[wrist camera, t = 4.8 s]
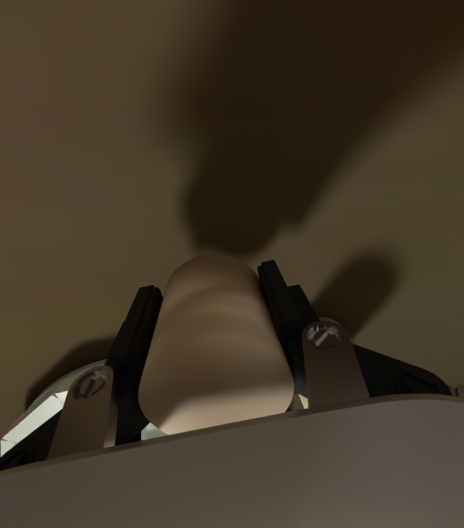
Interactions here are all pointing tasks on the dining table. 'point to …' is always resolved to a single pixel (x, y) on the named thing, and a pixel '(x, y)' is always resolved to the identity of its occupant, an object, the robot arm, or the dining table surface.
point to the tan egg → (213, 350)
